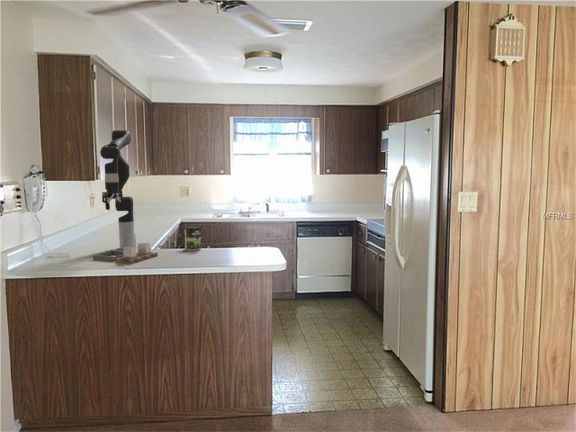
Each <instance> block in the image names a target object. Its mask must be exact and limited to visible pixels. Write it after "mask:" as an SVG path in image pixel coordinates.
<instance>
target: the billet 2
mask: <svg viewBox="0 0 576 432" xmlns="http://www.w3.org/2000/svg"><path fill="white" fill-rule="evenodd" d="M150 252H151V243H150V242H144V241H143V242H139V243H137V253H138V254H143V255H147V254H150Z"/></svg>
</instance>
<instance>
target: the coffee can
mask: <svg viewBox="0 0 576 432" xmlns="http://www.w3.org/2000/svg"><path fill="white" fill-rule="evenodd" d="M201 229H202V226H199V225H188V226H184V250H185V249H187V250H186V251H199V250H198V249H200V250H202V232H201Z"/></svg>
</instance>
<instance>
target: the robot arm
mask: <svg viewBox="0 0 576 432" xmlns="http://www.w3.org/2000/svg"><path fill="white" fill-rule="evenodd" d="M131 142H132V136H131V132H130V131H129V130H126V129H121V130H120V129H119V130H118V129H117V130H116V129H115V130H114V129H113V130H112V132H111V141H110V142H109V143H108V144H105V145H103V146H102V147H101V148H100V151H99V153H100V156H101V157H102V159H105V160H112V161H111V162H106V163H105V164H104V187H105V190H106V191H102V192H101V194H102V196H101V201H102V203H103V204H105V209H106V211H110V210H111V207H110V206H111V205H110V203H111V201H112V200H114V207H115V211H117V212H127V213H126V214H124V215H122V216H119V217H118V220H117V221H118V234H119V235H118V237H119V238H118V239H119V249H120V250H123V247H126V246H136V247H137V242H136V232H135V223H134V221H135V218H134V199H133V197H132V196H124V195H123V188H124V187H125V184H127V182H128V180H129V179H130V176H131V173H130V165H129V162H128V161H127V160H126V159H125V157H124V155H123V154H122V153H121V150H122V149H123V148H125V147H126V146H128V145H130V143H131Z"/></svg>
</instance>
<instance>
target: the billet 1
mask: <svg viewBox="0 0 576 432" xmlns="http://www.w3.org/2000/svg"><path fill="white" fill-rule="evenodd" d="M122 251H123V255H124V258H126V259H134V258H137V255H136V253H137V245H136V246H126V247H123V249H122Z"/></svg>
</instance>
